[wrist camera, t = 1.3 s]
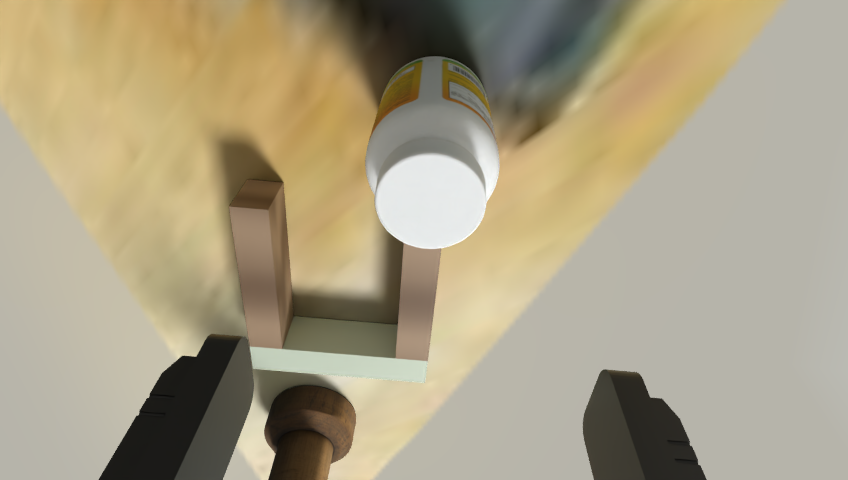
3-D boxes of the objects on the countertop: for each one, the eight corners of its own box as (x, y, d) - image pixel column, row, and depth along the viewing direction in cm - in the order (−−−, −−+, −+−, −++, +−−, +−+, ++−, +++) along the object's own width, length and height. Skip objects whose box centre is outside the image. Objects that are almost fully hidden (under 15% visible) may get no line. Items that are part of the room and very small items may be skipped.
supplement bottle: (385, 157, 28) (361, 266, 20) (377, 54, 25) (345, 133, 17) (486, 156, 28) (502, 266, 20) (490, 52, 25) (512, 131, 17)
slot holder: (247, 179, 29) (228, 206, 27) (444, 196, 29) (444, 225, 27) (266, 335, 36) (252, 368, 33) (426, 348, 36) (425, 382, 33)
